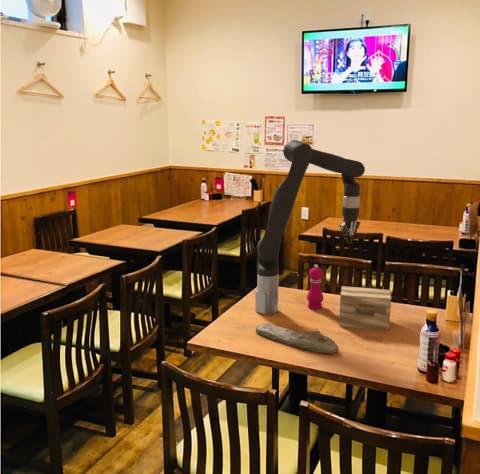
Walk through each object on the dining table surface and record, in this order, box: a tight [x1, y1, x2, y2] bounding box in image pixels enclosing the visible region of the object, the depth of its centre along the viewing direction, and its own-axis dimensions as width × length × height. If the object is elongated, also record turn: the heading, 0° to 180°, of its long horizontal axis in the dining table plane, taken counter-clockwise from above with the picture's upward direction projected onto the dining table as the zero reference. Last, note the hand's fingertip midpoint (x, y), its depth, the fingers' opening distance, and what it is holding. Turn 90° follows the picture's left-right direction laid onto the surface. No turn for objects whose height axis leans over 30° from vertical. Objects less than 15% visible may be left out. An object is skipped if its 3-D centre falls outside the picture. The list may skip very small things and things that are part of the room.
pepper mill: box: [306, 264, 324, 310], centre depth 226 cm, size 7×7×20 cm
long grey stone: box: [255, 323, 339, 355], centre depth 194 cm, size 35×5×10 cm
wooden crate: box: [338, 285, 392, 331], centre depth 209 cm, size 11×20×14 cm, turn 76°
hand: (349, 243), depth 232 cm, fingers closed
